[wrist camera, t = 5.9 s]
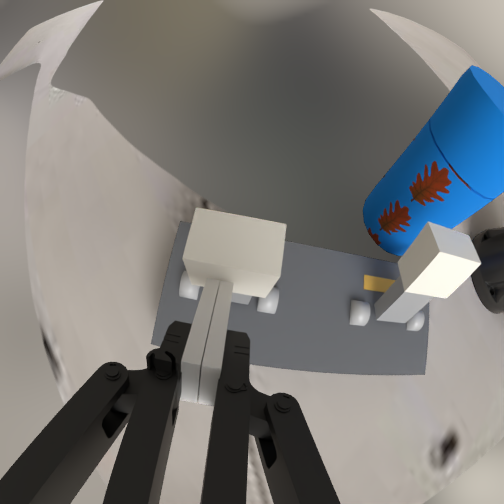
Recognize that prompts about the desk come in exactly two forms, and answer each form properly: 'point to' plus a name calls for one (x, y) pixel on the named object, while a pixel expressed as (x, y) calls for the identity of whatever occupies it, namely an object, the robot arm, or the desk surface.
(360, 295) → the switch box
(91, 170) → the desk surface
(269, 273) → the outer lever
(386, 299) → the inner lever
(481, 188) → the thermos
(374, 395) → the desk surface
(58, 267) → the desk surface
